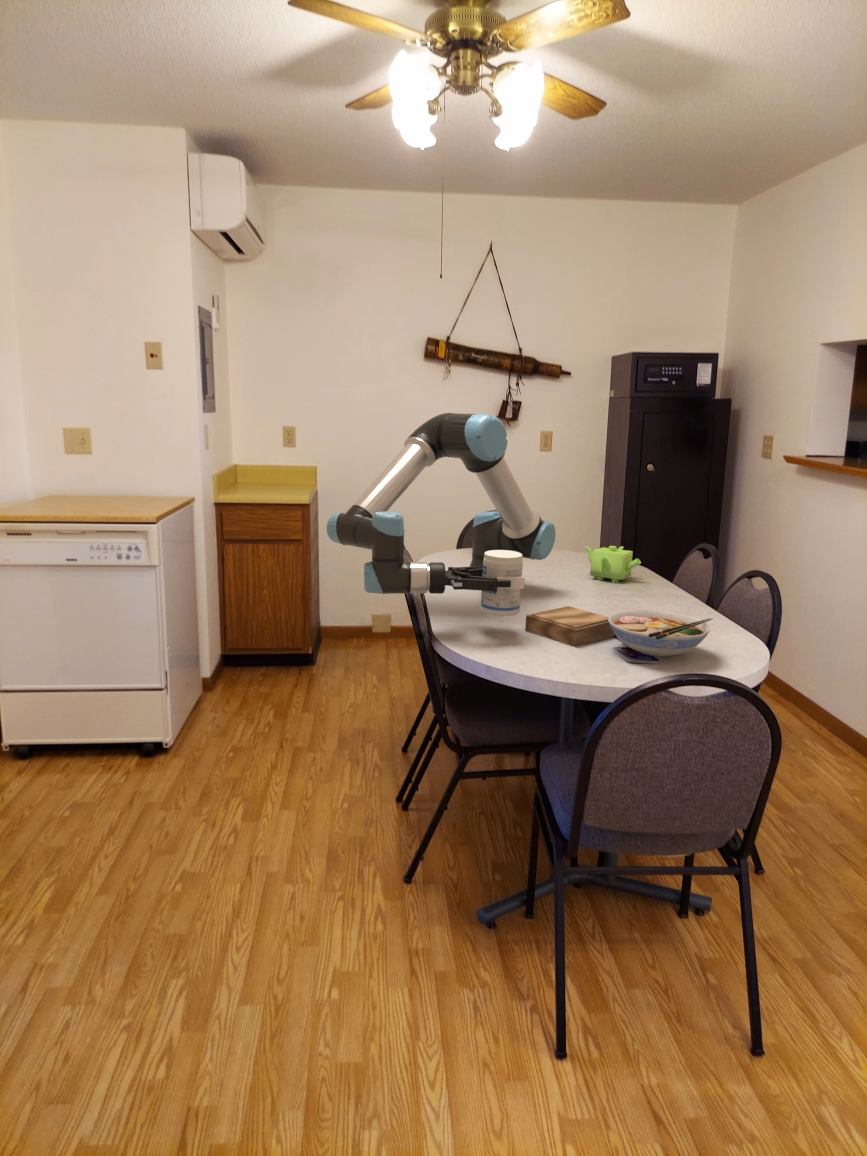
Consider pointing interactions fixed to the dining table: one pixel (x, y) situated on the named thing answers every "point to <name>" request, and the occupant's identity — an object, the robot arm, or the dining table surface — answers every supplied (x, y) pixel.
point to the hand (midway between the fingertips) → (519, 578)
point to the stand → (569, 625)
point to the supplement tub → (501, 566)
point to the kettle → (611, 563)
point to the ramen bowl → (658, 631)
